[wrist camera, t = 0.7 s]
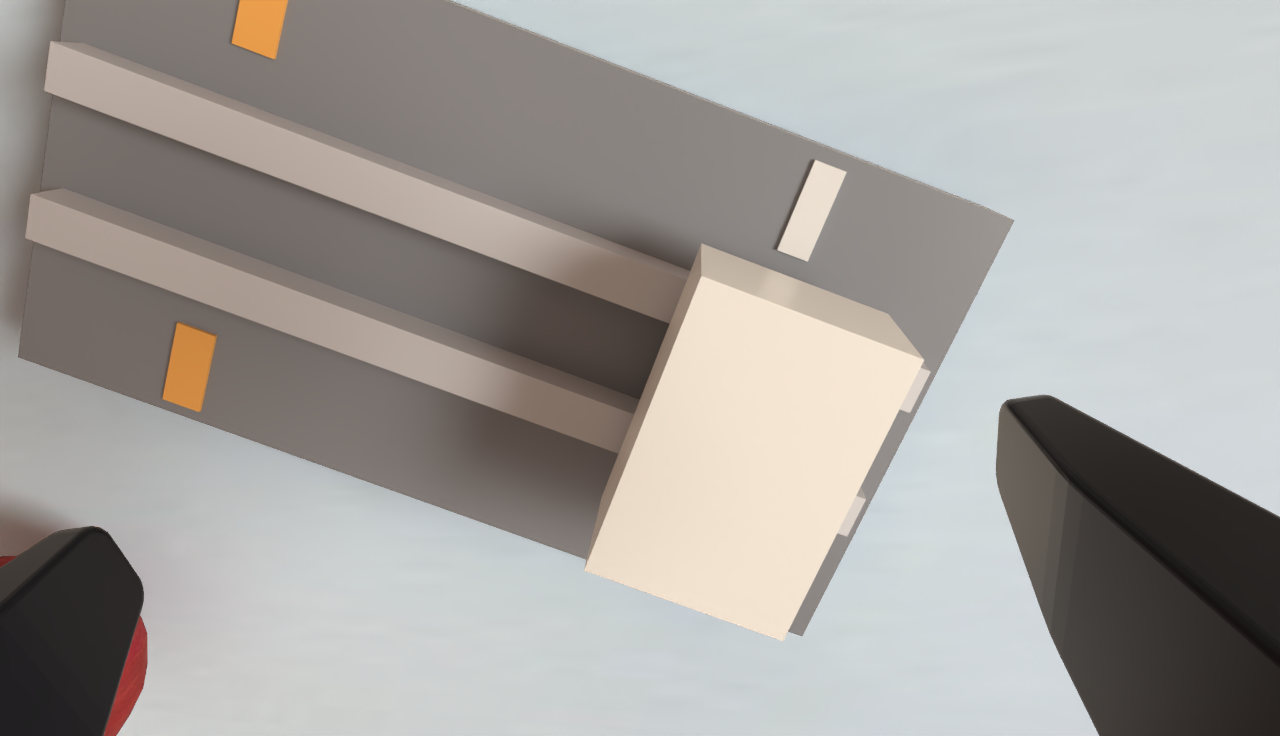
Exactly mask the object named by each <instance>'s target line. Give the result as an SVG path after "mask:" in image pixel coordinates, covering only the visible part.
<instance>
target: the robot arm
mask: <svg viewBox="0 0 1280 736" xmlns="http://www.w3.org/2000/svg"><path fill="white" fill-rule="evenodd" d="M996 477H997V484H998V488H999V492H1000V495H1001V498H1002V501H1003V503H1004V506H1005V509H1006V512H1007V515H1008V518H1009V521H1010V523H1011V526H1012V529H1013V532H1014V535H1015V538H1016V540H1017V543H1018V546H1019V549H1020V552H1021V555H1022V557H1023V560H1024V563H1025V566H1026V569H1027V572H1028V574H1029V577H1030V580H1031V583H1032V586H1033V589H1034V591H1035V594H1036V597H1037V600H1038V603H1039V606H1040V609H1041V611H1042V614H1043V617H1044V619H1045V622H1046V625H1047V627H1048V630H1049V633H1050V635H1051V637H1052V639H1053V642H1054V644H1055V646H1056V648H1057V650H1058V652H1059V655H1060V657H1061V659H1062V661H1063V663H1064V665H1065V667H1066V669H1067V671H1068V673H1069V675H1070V677H1071V679H1072V681H1073V683H1074V685H1075V687H1076V689H1077V691H1078V693H1079V696H1080V698H1081V700H1082V702H1083V704H1084V706H1085V708H1086V710H1087V712H1088V714H1089V716H1090V718H1091V720H1092V722H1093V724H1094V726H1095V728H1096V730H1097V732H1098V734H1099V736H1280V517H1279V516H1277V515H1275V514H1274V513H1272V512H1270V511H1268V510H1266V509H1264V508H1262V507H1260V506H1258V505H1257V504H1255V503H1253V502H1251V501H1249V500H1247V499H1245V498H1243V497H1241V496H1240V495H1238V494H1236V493H1234V492H1232V491H1230V490H1228V489H1226V488H1225V487H1223V486H1221V485H1219V484H1217V483H1215V482H1213V481H1211V480H1209V479H1208V478H1206V477H1204V476H1202V475H1200V474H1198V473H1196V472H1194V471H1193V470H1191V469H1189V468H1187V467H1185V466H1183V465H1181V464H1179V463H1177V462H1176V461H1174V460H1172V459H1170V458H1168V457H1166V456H1164V455H1162V454H1161V453H1159V452H1157V451H1155V450H1153V449H1151V448H1149V447H1147V446H1145V445H1144V444H1142V443H1140V442H1138V441H1136V440H1134V439H1132V438H1130V437H1129V436H1127V435H1125V434H1123V433H1121V432H1119V431H1117V430H1115V429H1113V428H1112V427H1110V426H1108V425H1106V424H1104V423H1102V422H1100V421H1098V420H1096V419H1095V418H1093V417H1091V416H1089V415H1087V414H1085V413H1083V412H1081V411H1080V410H1078V409H1076V408H1074V407H1072V406H1070V405H1068V404H1066V403H1064V402H1063V401H1061V400H1059V399H1057V398H1055V397H1052V396H1050V395H1037V396H1030V397H1023V398H1016V399H1009V400H1007V401H1006V402H1005V403H1003V404H1002V406H1001V409H1000V412H999V424H998V441H997V457H996ZM143 601H144V591H143V585H142V582H141V580H140V578H139V576H138V575H137V573H136V572H135V571H134V569H133V568H132V566H131V565H130V563H129V562H128V560H127V559H126V557H125V556H124V555H123V553H122V552H121V550H120V549H119V547H118V546H117V544H116V543H115V541H114V540H113V538H112V537H111V536H110V535H109V533H108V532H106V531H105V530H103V529H102V528H100V527H95V526H89V527H82V528H74V529H67V530H62V531H58V532H55V533H53V534H51V535H50V536H48V537H46V538H45V539H43V540H42V541H40V542H39V543H37V544H36V545H34V546H33V547H31V548H30V549H28V550H27V551H25V552H23V553H22V554H20V555H19V556H17V557H16V558H14V559H13V560H11V561H10V562H8V563H7V564H5V565H3V566H2V567H0V736H104V733H105V730H106V727H107V724H108V721H109V718H110V714H111V711H112V707H113V704H114V701H115V697H116V694H117V691H118V687H119V684H120V680H121V677H122V674H123V670H124V667H125V664H126V660H127V657H128V653H129V650H130V647H131V643H132V640H133V637H134V633H135V630H136V626H137V623H138V620H139V616H140V613H141V610H142V606H143Z"/></svg>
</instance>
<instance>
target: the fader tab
mask: <svg viewBox="0 0 1280 736" xmlns="http://www.w3.org/2000/svg"><path fill="white" fill-rule="evenodd" d="M923 362H924V358H923V357H922V356H921V355H920V353H919V352H918V351H917V350H916V348H915V347H914V346H913V345H912V343H911V342H910V341H909V340H908V338H907V337H906V336H905V334H904V333H903V332H902V331H901V329H900V328H899V327H898V326H897V324H896V323H895V322H894V321H893V319H892V318H891V317H890V316H889V314H887V313H885V312H882V311H879V310H877V309H874V308H871V307H869V306H866V305H863V304H861V303H858V302H855V301H853V300H850V299H847V298H845V297H842V296H840V295H837V294H834V293H832V292H829V291H826V290H824V289H821V288H818V287H816V286H813V285H810V284H808V283H805V282H802V281H800V280H797V279H795V278H792V277H789V276H787V275H784V274H781V273H779V272H776V271H773V270H771V269H768V268H765V267H763V266H760V265H757V264H755V263H752V262H750V261H747V260H744V259H742V258H739V257H736V256H734V255H731V254H728V253H726V252H723V251H720V250H718V249H715V248H712V247H710V246H707V245H705V244H702V243H701V245H700V248H699V251H698V253H697V256H696V258H695V261H694V263H693V266H692V268H691V271H690V273H689V276H688V279H687V281H686V284H685V286H684V289H683V291H682V294H681V296H680V299H679V301H678V304H677V307H676V309H675V312H674V314H673V317H672V319H671V322H670V324H669V327H668V329H667V332H666V335H665V337H664V340H663V342H662V345H661V347H660V350H659V352H658V355H657V357H656V360H655V363H654V365H653V368H652V370H651V373H650V375H649V378H648V380H647V383H646V385H645V388H644V391H643V393H642V396H641V398H640V401H639V403H638V406H637V408H636V411H635V413H634V416H633V419H632V421H631V424H630V426H629V429H628V431H627V434H626V436H625V439H624V441H623V444H622V447H621V449H620V452H619V454H618V457H617V459H616V462H615V464H614V467H613V469H612V472H611V475H610V477H609V480H608V482H607V485H606V487H605V490H604V492H603V495H602V497H601V502H600V506H599V510H598V514H597V519H596V523H595V527H594V531H593V535H592V540H591V544H590V548H589V552H588V557H587V561H586V565H585V569H584V571H587V572H590V573H593V574H596V575H598V576H601V577H604V578H607V579H610V580H612V581H615V582H618V583H621V584H624V585H626V586H629V587H632V588H635V589H638V590H641V591H643V592H646V593H649V594H652V595H655V596H657V597H660V598H663V599H666V600H669V601H671V602H674V603H677V604H680V605H683V606H686V607H688V608H691V609H694V610H697V611H700V612H702V613H705V614H708V615H711V616H714V617H716V618H719V619H722V620H725V621H728V622H731V623H733V624H736V625H739V626H742V627H745V628H747V629H750V630H753V631H756V632H759V633H761V634H764V635H767V636H770V637H773V638H776V639H778V640H781V641H783V640H784V638H785V636H786V634H787V632H788V630H789V628H790V626H791V624H792V622H793V620H794V618H795V616H796V614H797V612H798V610H799V608H800V606H801V604H802V602H803V600H804V598H805V596H806V594H807V592H808V590H809V588H810V587H811V585H812V583H813V581H814V579H815V577H816V575H817V573H818V571H819V569H820V567H821V565H822V563H823V561H824V559H825V557H826V555H827V553H828V551H829V549H830V547H831V545H832V543H833V541H834V539H835V537H836V535H837V533H838V531H839V529H840V527H841V525H842V523H843V521H844V519H845V517H846V515H847V513H848V511H849V509H850V507H851V505H852V503H853V501H854V499H855V497H856V495H857V493H858V491H859V489H860V487H861V485H862V483H863V481H864V479H865V477H866V475H867V473H868V471H869V469H870V467H871V465H872V463H873V461H874V459H875V457H876V455H877V453H878V451H879V449H880V447H881V445H882V443H883V441H884V439H885V437H886V435H887V433H888V431H889V429H890V427H891V425H892V423H893V421H894V419H895V417H896V415H897V413H898V411H899V409H900V407H901V405H902V403H903V401H904V399H905V398H906V396H907V394H908V392H909V390H910V388H911V386H912V384H913V382H914V380H915V378H916V376H917V374H918V372H919V370H920V368H921V366H922V364H923Z"/></svg>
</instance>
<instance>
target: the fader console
mask: <svg viewBox="0 0 1280 736" xmlns="http://www.w3.org/2000/svg"><path fill="white" fill-rule="evenodd" d="M44 91H46V92H49V93H51V94H53V97H52V104H51V112H50V119H49V127H48V134H47V142H46V150H45V157H44V165H43V172H42V180H41V187H40V192H38V193H32V194H31V195H30V203H29V210H28V218H27V226H26V234H25V238H26V239H29V240H32V241H33V248H32V255H31V263H30V270H29V278H28V286H27V293H26V301H25V308H24V316H23V323H22V331H21V338H20V346H19V353H18V357H19V358H22V359H25V360H28V361H31V362H33V363H36V364H39V365H42V366H45V367H47V368H50V369H53V370H56V371H59V372H61V373H64V374H67V375H70V376H73V377H75V378H78V379H81V380H84V381H87V382H90V383H92V384H95V385H98V386H101V387H104V388H106V389H109V390H112V391H115V392H118V393H120V394H123V395H126V396H129V397H132V398H134V399H137V400H140V401H143V402H146V403H148V404H151V405H154V406H157V407H160V408H162V409H165V410H168V411H171V412H174V413H177V414H179V415H182V416H185V417H188V418H191V419H193V420H196V421H199V422H202V423H205V424H207V425H210V426H213V427H216V428H219V429H221V430H224V431H227V432H230V433H233V434H235V435H238V436H241V437H244V438H247V439H250V440H252V441H255V442H258V443H261V444H264V445H266V446H269V447H272V448H275V449H278V450H280V451H283V452H286V453H289V454H292V455H294V456H297V457H300V458H303V459H306V460H308V461H311V462H314V463H317V464H320V465H322V466H325V467H328V468H331V469H334V470H337V471H339V472H342V473H345V474H348V475H351V476H353V477H356V478H359V479H362V480H365V481H367V482H370V483H373V484H376V485H379V486H381V487H384V488H387V489H390V490H393V491H395V492H398V493H401V494H404V495H407V496H410V497H412V498H415V499H418V500H421V501H424V502H426V503H429V504H432V505H435V506H438V507H440V508H443V509H446V510H449V511H452V512H454V513H457V514H460V515H463V516H466V517H468V518H471V519H474V520H477V521H480V522H483V523H485V524H488V525H491V526H494V527H497V528H499V529H502V530H505V531H508V532H511V533H513V534H516V535H519V536H522V537H525V538H527V539H530V540H533V541H536V542H539V543H541V544H544V545H547V546H550V547H553V548H555V549H558V550H561V551H564V552H567V553H570V554H572V555H575V556H578V557H581V558H584V559H586V560H587V557H588V552H589V548H590V544H591V540H592V535H593V531H594V527H595V523H596V519H597V514H598V510H599V506H600V502H601V497H602V495H603V492H604V490H605V487H606V485H607V482H608V480H609V477H610V475H611V472H612V469H613V467H614V464H615V462H616V459H617V457H618V454H619V452H620V449H621V447H622V444H623V441H624V439H625V436H626V434H627V431H628V429H629V426H630V424H631V421H632V419H633V416H634V413H635V411H636V408H637V406H638V403H639V401H640V398H641V396H642V393H643V391H644V388H645V385H646V383H647V380H648V378H649V375H650V373H651V370H652V368H653V365H654V363H655V360H656V357H657V355H658V352H659V350H660V347H661V345H662V342H663V340H664V337H665V335H666V332H667V329H668V327H669V324H670V322H671V319H672V317H673V314H674V312H675V309H676V307H677V304H678V301H679V299H680V296H681V294H682V291H683V289H684V286H685V284H686V281H687V279H688V276H689V273H690V271H691V268H692V266H693V263H694V261H695V258H696V256H697V253H698V251H699V248H700V245H701V243H702V244H705V245H707V246H710V247H712V248H715V249H718V250H720V251H723V252H726V253H728V254H731V255H734V256H736V257H739V258H742V259H744V260H747V261H750V262H752V263H755V264H757V265H760V266H763V267H765V268H768V269H771V270H773V271H776V272H779V273H781V274H784V275H787V276H789V277H792V278H795V279H797V280H800V281H802V282H805V283H808V284H810V285H813V286H816V287H818V288H821V289H824V290H826V291H829V292H832V293H834V294H837V295H840V296H842V297H845V298H847V299H850V300H853V301H855V302H858V303H861V304H863V305H866V306H869V307H871V308H874V309H877V310H879V311H882V312H885V313H887V314H889V316H890V317H891V318H892V319H893V321H894V322H895V323H896V324H897V326H898V327H899V328H900V329H901V331H902V332H903V333H904V334H905V336H906V337H907V338H908V340H909V341H910V342H911V343H912V345H913V346H914V347H915V348H916V350H917V351H918V352H919V353H920V355H921V356H922V357H923V358H924V362H923V364H922V366H921V368H920V370H919V372H918V374H917V376H916V378H915V380H914V382H913V384H912V386H911V388H910V390H909V392H908V394H907V396H906V398H905V399H904V401H903V403H902V405H901V407H900V409H899V411H898V413H897V415H896V417H895V419H894V421H893V423H892V425H891V427H890V429H889V431H888V433H887V435H886V437H885V439H884V441H883V443H882V445H881V447H880V449H879V451H878V453H877V455H876V457H875V459H874V461H873V463H872V465H871V467H870V469H869V471H868V473H867V475H866V477H865V479H864V481H863V483H862V485H861V487H860V489H859V491H858V493H857V495H856V497H855V499H854V501H853V503H852V505H851V507H850V509H849V511H848V513H847V515H846V517H845V519H844V521H843V523H842V525H841V527H840V529H839V531H838V533H837V535H836V537H835V539H834V541H833V543H832V545H831V547H830V549H829V551H828V553H827V555H826V557H825V559H824V561H823V563H822V565H821V567H820V569H819V571H818V573H817V575H816V577H815V579H814V581H813V583H812V585H811V587H810V588H809V590H808V592H807V594H806V596H805V598H804V600H803V602H802V604H801V606H800V608H799V610H798V612H797V614H796V616H795V618H794V620H793V622H792V624H791V626H790V628H789V630H788V632H791V633H794V634H797V635H800V636H803V634H804V632H805V630H806V628H807V626H808V624H809V622H810V620H811V618H812V616H813V614H814V612H815V610H816V608H817V606H818V604H819V602H820V600H821V598H822V596H823V594H824V592H825V590H826V588H827V587H828V585H829V583H830V581H831V579H832V577H833V575H834V573H835V571H836V569H837V567H838V565H839V563H840V561H841V559H842V557H843V555H844V553H845V551H846V549H847V547H848V545H849V543H850V541H851V540H852V538H853V536H854V534H855V532H856V530H857V528H858V526H859V524H860V522H861V520H862V518H863V516H864V514H865V512H866V510H867V508H868V506H869V504H870V502H871V500H872V498H873V496H874V494H875V492H876V491H877V489H878V487H879V485H880V483H881V481H882V479H883V477H884V475H885V473H886V471H887V469H888V467H889V465H890V463H891V461H892V459H893V457H894V455H895V453H896V451H897V449H898V447H899V445H900V443H901V442H902V440H903V438H904V436H905V434H906V432H907V430H908V428H909V426H910V424H911V422H912V420H913V418H914V416H915V414H916V412H917V410H918V408H919V406H920V404H921V402H922V400H923V398H924V396H925V395H926V393H927V391H928V389H929V387H930V385H931V383H932V381H933V379H934V377H935V375H936V373H937V371H938V369H939V367H940V365H941V363H942V361H943V359H944V357H945V355H946V353H947V351H948V349H949V347H950V346H951V344H952V342H953V340H954V338H955V336H956V334H957V332H958V330H959V328H960V326H961V324H962V322H963V320H964V318H965V316H966V314H967V312H968V310H969V308H970V306H971V304H972V302H973V300H974V298H975V297H976V295H977V293H978V291H979V289H980V287H981V285H982V283H983V281H984V279H985V277H986V275H987V273H988V271H989V269H990V267H991V265H992V263H993V261H994V259H995V257H996V255H997V253H998V251H999V249H1000V248H1001V246H1002V244H1003V242H1004V240H1005V238H1006V236H1007V234H1008V232H1009V230H1010V228H1011V226H1012V224H1013V222H1014V220H1012V219H1010V218H1008V217H1006V216H1004V215H1001V214H999V213H997V212H995V211H993V210H990V209H988V208H986V207H984V206H981V205H979V204H976V203H973V202H971V201H968V200H966V199H963V198H960V197H958V196H955V195H953V194H950V193H947V192H945V191H942V190H940V189H937V188H935V187H932V186H929V185H927V184H924V183H922V182H919V181H916V180H914V179H911V178H909V177H906V176H904V175H901V174H898V173H896V172H893V171H891V170H888V169H885V168H883V167H880V166H878V165H875V164H872V163H870V162H867V161H865V160H862V159H860V158H857V157H854V156H852V155H849V154H847V153H844V152H841V151H839V150H836V149H834V148H831V147H829V146H826V145H823V144H821V143H818V142H816V141H813V140H810V139H808V138H805V137H803V136H800V135H797V134H795V133H792V132H790V131H787V130H785V129H782V128H779V127H777V126H774V125H772V124H769V123H766V122H764V121H761V120H759V119H756V118H753V117H751V116H748V115H746V114H743V113H741V112H738V111H735V110H733V109H730V108H728V107H725V106H722V105H720V104H717V103H715V102H712V101H710V100H707V99H704V98H702V97H699V96H697V95H694V94H691V93H689V92H686V91H684V90H681V89H678V88H676V87H673V86H671V85H668V84H666V83H663V82H660V81H658V80H655V79H653V78H650V77H647V76H645V75H642V74H640V73H637V72H635V71H632V70H629V69H627V68H624V67H622V66H619V65H616V64H614V63H611V62H609V61H606V60H603V59H601V58H598V57H596V56H593V55H591V54H588V53H585V52H583V51H580V50H578V49H575V48H572V47H570V46H567V45H565V44H562V43H559V42H557V41H554V40H552V39H549V38H547V37H544V36H541V35H539V34H536V33H534V32H531V31H528V30H526V29H523V28H521V27H518V26H516V25H513V24H510V23H508V22H505V21H503V20H500V19H497V18H495V17H492V16H490V15H487V14H484V13H482V12H479V11H477V10H474V9H472V8H469V7H466V6H464V5H461V4H459V3H456V2H453V1H451V0H65V6H64V14H63V21H62V29H61V36H60V42H56V41H50V48H49V55H48V63H47V71H46V79H45V86H44Z"/></svg>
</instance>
